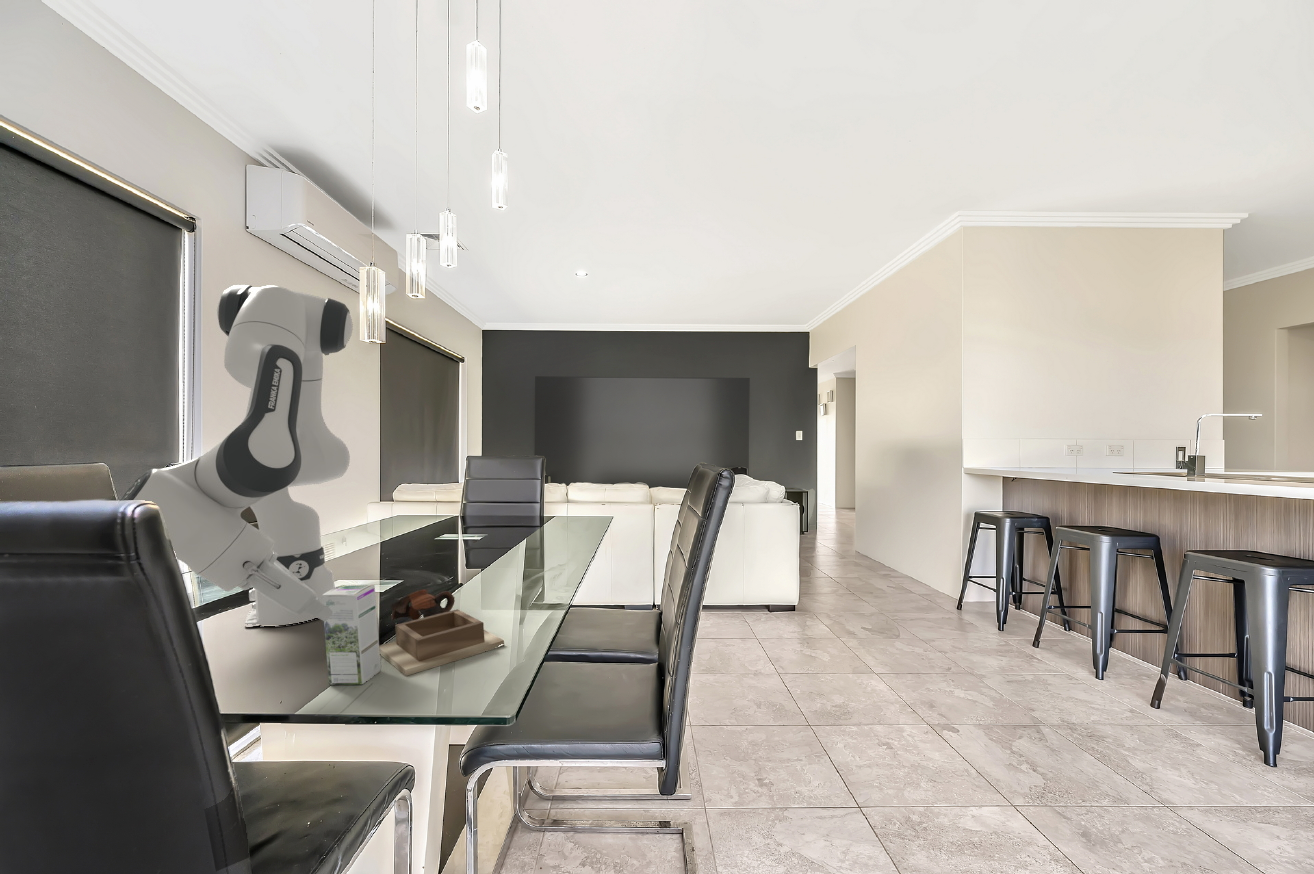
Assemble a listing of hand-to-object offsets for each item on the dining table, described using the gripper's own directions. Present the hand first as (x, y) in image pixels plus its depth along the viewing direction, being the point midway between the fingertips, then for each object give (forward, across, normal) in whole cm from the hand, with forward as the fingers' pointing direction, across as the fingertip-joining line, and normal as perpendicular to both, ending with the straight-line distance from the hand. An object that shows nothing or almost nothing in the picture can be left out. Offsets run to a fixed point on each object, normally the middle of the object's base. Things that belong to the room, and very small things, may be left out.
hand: (321, 609), depth 95 cm
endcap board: (+22, +2, -5) cm, 22 cm away
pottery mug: (+24, +18, -6) cm, 30 cm away
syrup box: (+12, 0, +6) cm, 13 cm away
